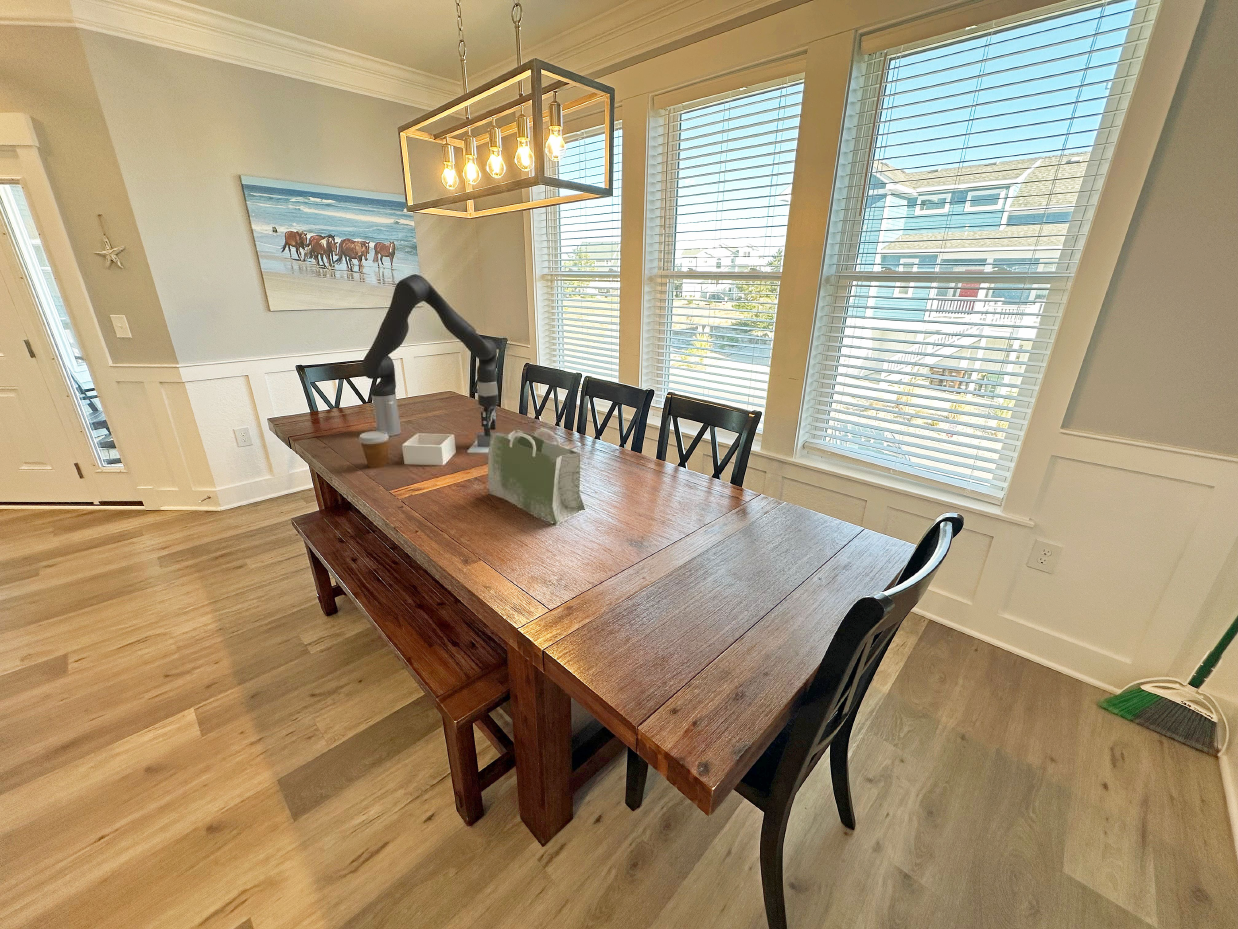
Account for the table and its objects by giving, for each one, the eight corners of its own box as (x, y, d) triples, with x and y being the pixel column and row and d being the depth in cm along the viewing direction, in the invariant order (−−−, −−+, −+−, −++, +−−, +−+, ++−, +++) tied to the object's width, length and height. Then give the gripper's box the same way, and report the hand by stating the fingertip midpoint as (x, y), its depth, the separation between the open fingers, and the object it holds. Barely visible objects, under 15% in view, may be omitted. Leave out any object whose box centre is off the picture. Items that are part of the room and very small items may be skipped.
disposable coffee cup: (357, 468, 172) (351, 436, 168) (379, 460, 180) (374, 429, 176) (377, 473, 169) (372, 440, 164) (398, 464, 177) (394, 432, 173)
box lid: (477, 443, 202) (476, 427, 200) (513, 444, 202) (513, 428, 200) (467, 455, 188) (465, 439, 186) (505, 456, 188) (505, 440, 186)
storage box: (419, 453, 188) (417, 433, 186) (455, 454, 189) (454, 434, 186) (404, 466, 175) (401, 445, 173) (443, 467, 175) (441, 446, 173)
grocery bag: (588, 510, 147) (589, 437, 139) (555, 526, 137) (553, 448, 129) (520, 481, 166) (517, 415, 158) (486, 493, 156) (481, 424, 148)
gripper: (482, 388, 194) (485, 427, 200) (472, 396, 180) (475, 438, 186) (501, 389, 194) (503, 428, 200) (493, 397, 180) (495, 438, 186)
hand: (490, 432), depth 193 cm, fingers open, 8 cm apart
